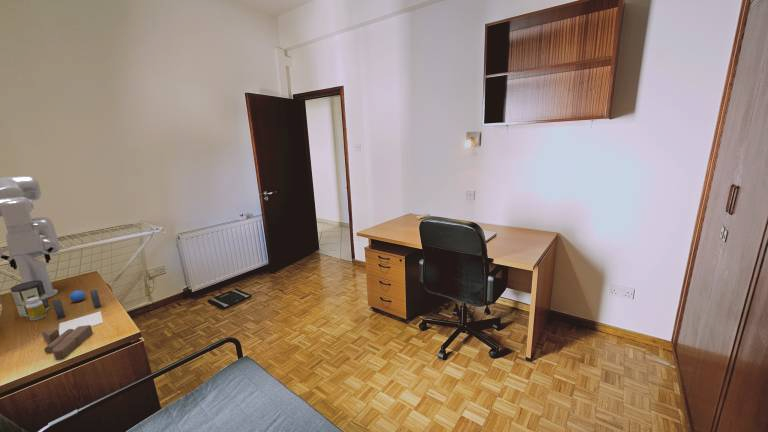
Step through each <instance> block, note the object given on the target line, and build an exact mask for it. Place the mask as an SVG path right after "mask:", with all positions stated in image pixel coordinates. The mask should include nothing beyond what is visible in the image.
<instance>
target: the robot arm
mask: <svg viewBox="0 0 768 432" xmlns="http://www.w3.org/2000/svg"><path fill="white" fill-rule="evenodd" d="M41 197H42V193H41V186H40V183H39V181H38V180H37V179H36V178H35V177H33V176H32V175H19V176H18V175H16V176H15V175H14V176H3V177H0V218H1V217H2V219H3V221H4V225H5V228H6V231H7V232H6V233H5V242H6V247H4V248H1V249H0V259H3V260H5V261H7V262H9V265H10V268H11V269H12V268H13V270H17V271H18V274H19V276H20V279H21V281H22V283H25V282H29V281H36V280H41V281H42V282H43V286H44V289H45V293H46V296H47V299H48V298H52V297H54V296H56V295H57V294H58V293H59V290H58V289H57V288H53V285H52V282H51V281H52V280H51V278H50V275H49V271H48V269H47V265H46V264H49V263H50V261H51V260H52V259H51V256H50V255H52V254H56V253H59V252H60V251H61V245H60V244H61V243H60V240H59V237H58V236H57V232H56V229H55V226H54V224H53V222H52V220H51V219H50V218H48V217H45V216H44V217H41V216H40V217H33V218H32V217H31V214H30V213H31V212H32V211H33V209H34V202H33V201H37V200H39V199H40V198H41ZM7 251H8V254H9V256H8V255H6V254H4V253H5V252H7ZM43 256H44V259H45V262H44V260H41V259H39V257H43ZM37 257H38V258H37Z"/></svg>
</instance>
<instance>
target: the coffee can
mask: <svg viewBox="0 0 768 432" xmlns="http://www.w3.org/2000/svg"><path fill="white" fill-rule="evenodd" d="M9 290H10V291H11V294H12V296H13V299H14V303H15V306H16V308H17V311H18V314H19V316H20V317H29V316H28V312H27V309H26V305H27V302H26V300H27V299H29V298H33V297H39V301H42V302H43V305H44V308H45V311H48V310H49V309H51V305H50V302H49V299H48V298H47V296H46V293H45V289H44V286H43V282H42V281H41V280H36V281H29V282H25V283H23V282H22V283H18V284H16V285H13V286H12V287H10V288H9Z"/></svg>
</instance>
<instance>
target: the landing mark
mask: <svg viewBox="0 0 768 432" xmlns="http://www.w3.org/2000/svg"><path fill="white" fill-rule="evenodd" d="M103 323H104V320H103V316H102V312H101V310H100V311H97V312H94V313H89V314H85V315H83V316H80V317H77V318H74V319H73V318H72V319H70V320H66V321H63V322H60V323H58V324H59V326H58V328H59V329H58V331H59V335H61V334H63V333H64V332H65V331H66V330H68V329H73V330H75V329H76V328H77V327H79V326H86V325H91V328H92V327H94V326H97V325H102V324H103Z"/></svg>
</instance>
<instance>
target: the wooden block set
mask: <svg viewBox="0 0 768 432" xmlns="http://www.w3.org/2000/svg"><path fill="white" fill-rule="evenodd" d="M41 334H42V337H43V340H44V341H45V342H46V343H47V344H48V345H46V346H45V347H44V349H43V350H44V352H45V353H46V354H53V357H54V359H55V360H56V361H59V360H64V359H66V358H67V357H68V356H69V355H70V354H71V353H72V352H73V351H74V350H75V349H76V348H78V347H79V346H81V345H82V344H83V343H84V342H86V340H87V339H89V337H91V336H92V335H93V334H94V332H93V329H92V327H91V325H86V326H79V327H77V328H76V329H75V330H73V329H68V330H66V331H65V332H64V333H63V334H61V335H59V329H58V328H56V329H48V330H41Z"/></svg>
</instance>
